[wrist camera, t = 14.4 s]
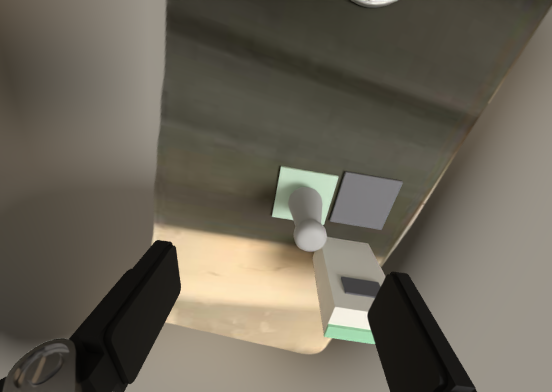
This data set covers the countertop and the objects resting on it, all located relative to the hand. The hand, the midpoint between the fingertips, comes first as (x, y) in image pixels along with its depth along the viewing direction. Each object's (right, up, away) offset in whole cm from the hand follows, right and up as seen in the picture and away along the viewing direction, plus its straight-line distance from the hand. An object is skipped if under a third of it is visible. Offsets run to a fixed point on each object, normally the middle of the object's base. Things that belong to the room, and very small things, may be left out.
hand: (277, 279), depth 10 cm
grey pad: (+16, +3, +30) cm, 35 cm away
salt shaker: (+5, +4, +30) cm, 31 cm away
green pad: (+5, +4, +31) cm, 31 cm away
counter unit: (+13, -8, +36) cm, 39 cm away
